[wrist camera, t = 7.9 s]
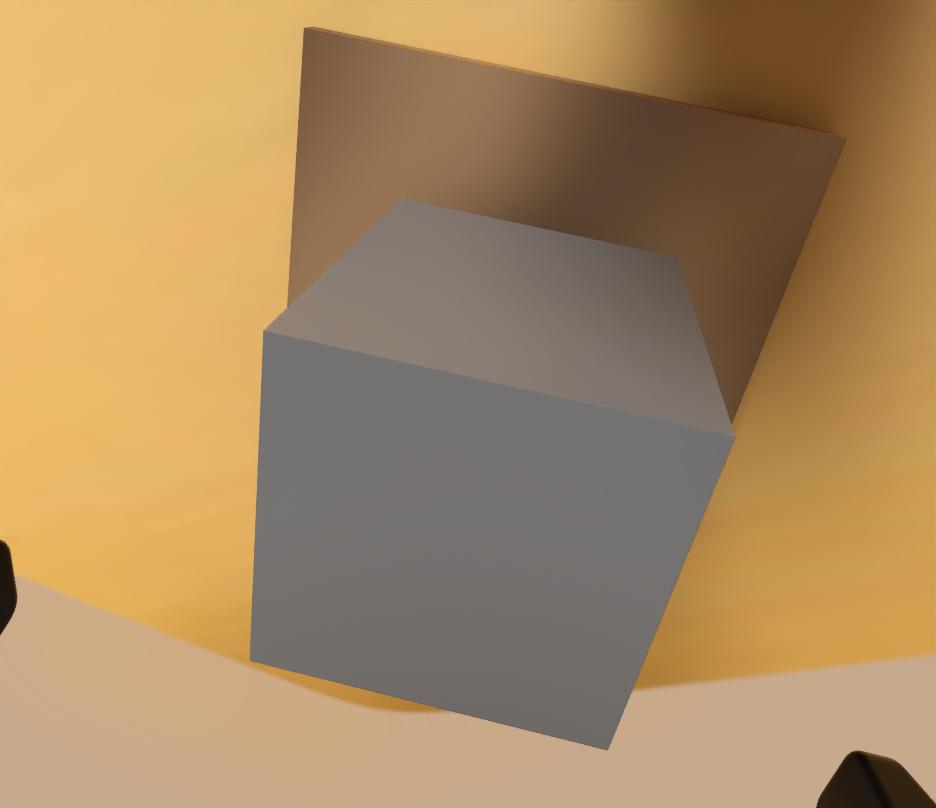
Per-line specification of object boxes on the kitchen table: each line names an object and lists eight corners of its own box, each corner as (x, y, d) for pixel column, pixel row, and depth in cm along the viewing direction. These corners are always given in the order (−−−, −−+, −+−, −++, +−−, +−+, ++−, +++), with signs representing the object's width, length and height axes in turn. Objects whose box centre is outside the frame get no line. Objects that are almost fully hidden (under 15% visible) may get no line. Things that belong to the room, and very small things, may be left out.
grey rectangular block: (677, 257, 14) (735, 437, 8) (604, 486, 16) (607, 750, 10) (401, 198, 14) (264, 330, 8) (372, 433, 16) (249, 660, 11)
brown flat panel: (836, 134, 14) (1058, 247, 7) (672, 549, 19) (713, 848, 12) (314, 27, 14) (68, 40, 8) (286, 458, 19) (119, 696, 12)
